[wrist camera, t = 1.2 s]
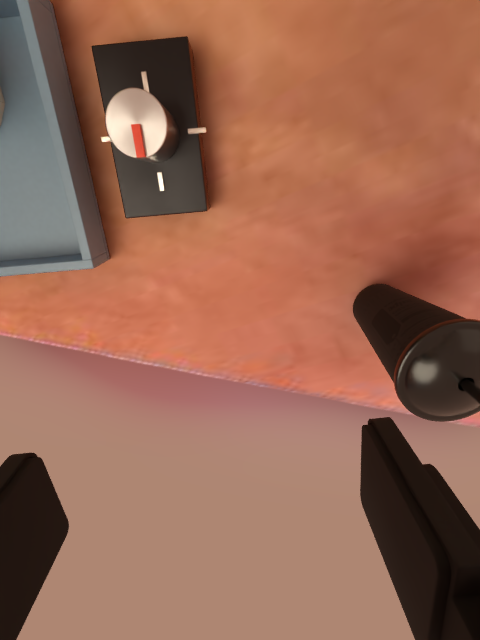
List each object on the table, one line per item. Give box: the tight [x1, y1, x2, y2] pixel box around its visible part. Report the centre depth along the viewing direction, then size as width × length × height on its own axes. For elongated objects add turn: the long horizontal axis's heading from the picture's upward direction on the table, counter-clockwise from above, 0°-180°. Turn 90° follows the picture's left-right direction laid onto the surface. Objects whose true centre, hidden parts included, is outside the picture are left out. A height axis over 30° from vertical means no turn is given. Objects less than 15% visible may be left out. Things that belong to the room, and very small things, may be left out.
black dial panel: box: [92, 36, 210, 218], centre depth 28 cm, size 12×8×3 cm
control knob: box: [105, 88, 179, 163], centre depth 24 cm, size 4×4×5 cm
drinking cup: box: [353, 284, 480, 422], centre depth 26 cm, size 8×8×20 cm
